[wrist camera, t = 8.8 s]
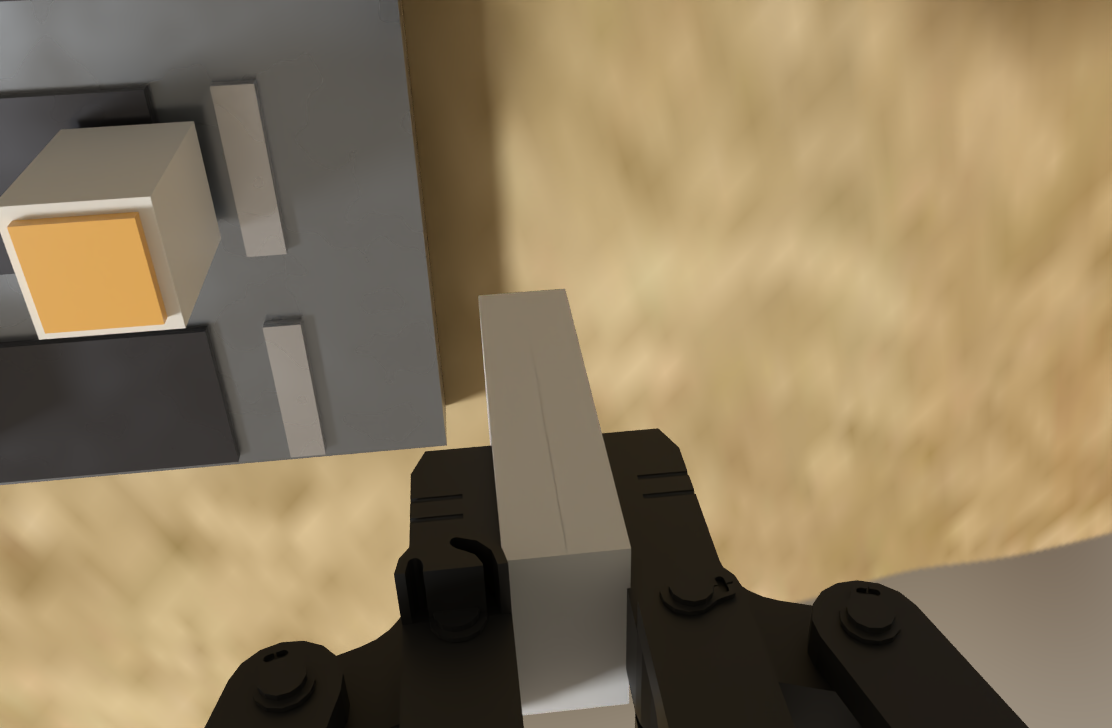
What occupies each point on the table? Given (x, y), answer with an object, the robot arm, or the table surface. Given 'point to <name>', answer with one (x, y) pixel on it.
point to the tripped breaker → (111, 230)
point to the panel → (233, 238)
